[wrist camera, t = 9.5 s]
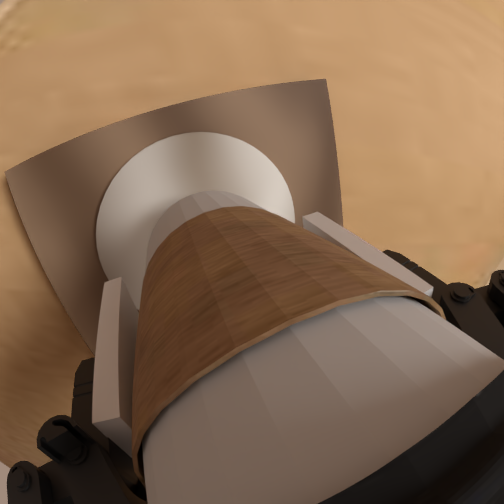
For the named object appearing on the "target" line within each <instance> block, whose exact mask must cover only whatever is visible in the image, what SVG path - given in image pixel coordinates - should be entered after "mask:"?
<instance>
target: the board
mask: <svg viewBox="0 0 504 504" xmlns="http://www.w3.org/2000/svg"><path fill="white" fill-rule="evenodd" d="M5 175H6V178H7V181H8V184H9V187H10V190H11V193H12V196H13V199H14V202H15V204H16V207H17V210H18V212H19V215H20V217H21V220H22V222H23V225H24V227H25V230H26V232H27V234H28V237H29V239H30V241H31V244H32V246H33V248H34V250H35V252H36V254H37V257H38V259H39V261H40V263H41V265H42V267H43V269H44V271H45V273H46V275H47V277H48V279H49V281H50V283H51V285H52V287H53V288H54V290H55V292H56V294H57V296H58V298H59V299H60V301H61V303H62V305H63V307H64V308H65V310H66V312H67V313H68V315H69V317H70V318H71V320H72V322H73V323H74V325H75V327H76V328H77V330H78V332H79V333H80V335H81V336H82V338H83V339H84V341H85V342H86V344H87V346H88V347H89V349H90V350H91V352H92V353H93V354H94V356H95V352H96V342H97V333H98V324H99V316H100V309H101V302H102V295H103V289H104V283H105V282H107V281H110V280H113V279H116V278H119V277H122V279H123V281H124V283H125V285H126V287H127V290H128V292H129V294H130V296H131V298H132V300H133V302H134V304H135V306H136V308H137V310H138V312H139V308H140V300H141V292H142V284H143V279H144V276H145V267H146V257H147V248H148V242H149V239H150V236H151V233H152V230H153V228H154V226H155V224H156V223H157V221H158V219H159V218H160V217H161V216H162V215H163V213H164V212H165V211H166V210H167V209H168V208H169V207H171V206H172V205H173V204H175V203H176V202H177V201H179V200H181V199H183V198H185V197H187V196H189V195H191V194H195V193H199V192H202V191H215V190H218V191H225V192H230V193H233V194H236V195H239V196H241V197H244V198H246V199H247V200H249V201H251V202H253V203H255V204H256V205H258V206H260V207H262V208H264V209H265V210H267V211H269V212H271V213H274V214H277V215H279V216H281V217H283V218H285V219H287V220H289V221H291V222H293V223H295V224H297V225H299V226H301V227H303V219H302V217H303V216H306V215H309V214H312V213H315V212H319V213H321V214H322V215H324V216H326V217H327V218H329V219H331V220H332V221H334V222H336V223H337V224H339V225H340V226H342V227H343V216H342V202H341V190H340V180H339V170H338V160H337V151H336V143H335V135H334V128H333V120H332V113H331V107H330V100H329V94H328V88H327V82H326V79H318V80H307V81H298V82H289V83H281V84H274V85H267V86H260V87H254V88H248V89H242V90H237V91H232V92H227V93H222V94H217V95H212V96H208V97H203V98H199V99H195V100H191V101H187V102H183V103H179V104H175V105H171V106H168V107H164V108H160V109H157V110H154V111H150V112H147V113H144V114H140V115H137V116H134V117H131V118H128V119H125V120H122V121H119V122H116V123H113V124H111V125H108V126H105V127H102V128H100V129H97V130H94V131H92V132H89V133H87V134H84V135H82V136H79V137H77V138H74V139H72V140H69V141H67V142H65V143H62V144H60V145H58V146H56V147H53V148H51V149H49V150H47V151H45V152H43V153H40V154H38V155H36V156H34V157H32V158H30V159H28V160H26V161H24V162H22V163H20V164H18V165H16V166H15V167H13V168H11V169H9V170H7V171H5ZM303 228H304V227H303Z"/></svg>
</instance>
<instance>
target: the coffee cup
mask: <svg viewBox="0 0 504 504" xmlns="http://www.w3.org/2000/svg"><path fill="white" fill-rule="evenodd" d="M132 460H133V467H134V472H135V473H136V475H137V476H138V478H139V479H140V481H141V482H142V484H143V485H144V486H145V487H146V494H147V502H148V504H504V360H503V359H501V358H500V357H499V356H497V355H496V354H494V353H493V352H491V351H490V350H488V349H487V348H486V347H484V346H483V345H481V344H480V343H478V342H477V341H475V340H474V339H473V338H471V337H470V336H468V335H467V334H465V333H464V332H462V331H461V330H459V329H458V328H457V327H455V326H454V325H452V324H451V323H449V322H448V321H446V318H445V315H444V312H443V309H442V308H441V307H440V306H439V305H438V304H437V303H436V302H435V301H434V300H433V299H432V298H431V297H429V296H428V295H426V294H424V293H423V292H421V291H419V290H417V289H416V288H414V287H412V286H410V285H409V284H407V283H405V282H403V281H401V280H400V279H398V278H396V277H394V276H393V275H391V274H389V273H387V272H385V271H384V270H382V269H380V268H378V267H376V266H374V265H373V264H371V263H369V262H367V261H365V260H363V259H362V258H360V257H358V256H356V255H354V254H352V253H350V252H349V251H347V250H345V249H343V248H341V247H339V246H337V245H335V244H333V243H332V242H330V241H328V240H326V239H324V238H322V237H320V236H318V235H316V234H314V233H312V232H310V231H308V230H306V229H305V228H303V227H301V226H299V225H297V224H295V223H293V222H291V221H289V220H287V219H285V218H283V217H281V216H279V215H277V214H274V213H271V212H269V211H267V210H265V209H264V208H262V207H260V206H258V205H256V204H255V203H253V202H251V201H249V200H247V199H246V198H244V197H241V196H239V195H236V194H233V193H230V192H225V191H218V190H215V191H202V192H199V193H195V194H191V195H189V196H187V197H185V198H183V199H181V200H179V201H177V202H176V203H175V204H173V205H172V206H171V207H169V208H168V209H167V210H166V211H165V212H164V213H163V215H162V216H161V217H160V218H159V219H158V221H157V223H156V224H155V226H154V228H153V230H152V233H151V236H150V239H149V242H148V248H147V257H146V267H145V276H144V279H143V284H142V292H141V300H140V308H139V317H138V327H137V337H136V348H135V361H134V376H133V396H132Z"/></svg>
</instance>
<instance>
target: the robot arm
mask: <svg viewBox="0 0 504 504" xmlns="http://www.w3.org/2000/svg"><path fill="white" fill-rule="evenodd" d="M302 219H303V227H304V228H305V229H306V230H308V231H310V232H312V233H314V234H316V235H318V236H320V237H322V238H324V239H326V240H328V241H330V242H332V243H333V244H335V245H337V246H339V247H341V248H343V249H345V250H347V251H349V252H350V253H352V254H354V255H356V256H358V257H360V258H362V259H363V260H365V261H367V262H369V263H371V264H373V265H374V266H376V267H378V268H380V269H382V270H384V271H385V272H387V273H389V274H391V275H393V276H394V277H396V278H398V279H400V280H401V281H403V282H405V283H407V284H409V285H410V286H412V287H414V288H416V289H417V290H419V291H421V292H423V293H424V294H426V295H428V296H429V297H431V298H432V299H433V300H434V301H435V302H436V303H437V304H438V305H439V306H440V307H441V308H442V309H443V312H444V315H445V318H446V321H448V322H449V323H451V324H452V325H454V326H455V327H457V328H458V329H459V330H461V331H462V332H464V333H465V334H467V335H468V336H470V337H471V338H473V339H474V340H475V341H477V342H478V343H480V344H481V345H483V346H484V347H486V348H487V349H488V350H490V351H491V352H493V353H494V354H496V355H497V356H499V357H500V358H501V359H503V360H504V270H498V271H495V272H494V273H492V275H491V279H490V283H489V285H487V286H484V287H480V288H477V289H474V288H473V287H472V286H470V285H468V284H465V283H460V282H457V283H451V284H448V285H447V284H445V283H444V282H443V281H441V280H440V279H438V278H437V277H435V276H434V275H432V274H431V273H429V272H428V271H426V270H425V269H423V268H422V267H418V265H417V264H416V263H414V262H411V261H410V260H409V259H408V258H406V257H405V256H403V255H402V254H400V253H397V252H393V251H390V250H385V251H383V252H381V251H380V250H378V249H377V248H375V247H374V246H372V245H370V244H369V243H367V242H366V241H364V240H363V239H361V238H360V237H358V236H356V235H355V234H353V233H352V232H350V231H348V230H347V229H345V228H344V227H342V226H340V225H339V224H337V223H336V222H334V221H332V220H331V219H329V218H327V217H326V216H324V215H322V214H321V213H319V212H315V213H312V214H309V215H306V216H303V217H302ZM138 317H139V312H138V310H137V308H136V306H135V304H134V302H133V300H132V298H131V296H130V294H129V292H128V290H127V287H126V285H125V283H124V281H123V279H122V277H119V278H116V279H113V280H110V281H107V282H105V283H104V289H103V295H102V302H101V309H100V316H99V324H98V333H97V342H96V352H95V357H94V358H90V359H87V360H83V361H82V362H81V363H80V365H79V367H78V369H77V371H76V373H75V381H74V387H75V388H74V390H73V397H74V398H73V401H72V413H71V417H69V416H67V415H57V416H55V417H52V418H50V419H49V420H48V421H46V422H45V423H44V424H43V426H42V427H41V429H40V430H39V433H38V436H37V448H38V449H39V450H41V451H42V452H43V453H44V454H46V455H47V456H48V457H50V458H51V459H52V460H53V461H51V462H49V463H47V464H45V465H43V466H41V467H38V468H37V467H36V466H35V465H33V464H32V463H30V462H28V461H20V462H18V463H16V464H15V465H14V466H13V467H12V468H11V469H10V471H9V474H8V477H7V494H8V504H148V502H147V494H146V487H145V486H144V485H143V484H142V482H141V481H140V479H139V478H138V476H137V475H136V473H135V472H134V467H133V460H132V396H133V376H134V361H135V348H136V337H137V327H138Z"/></svg>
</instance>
